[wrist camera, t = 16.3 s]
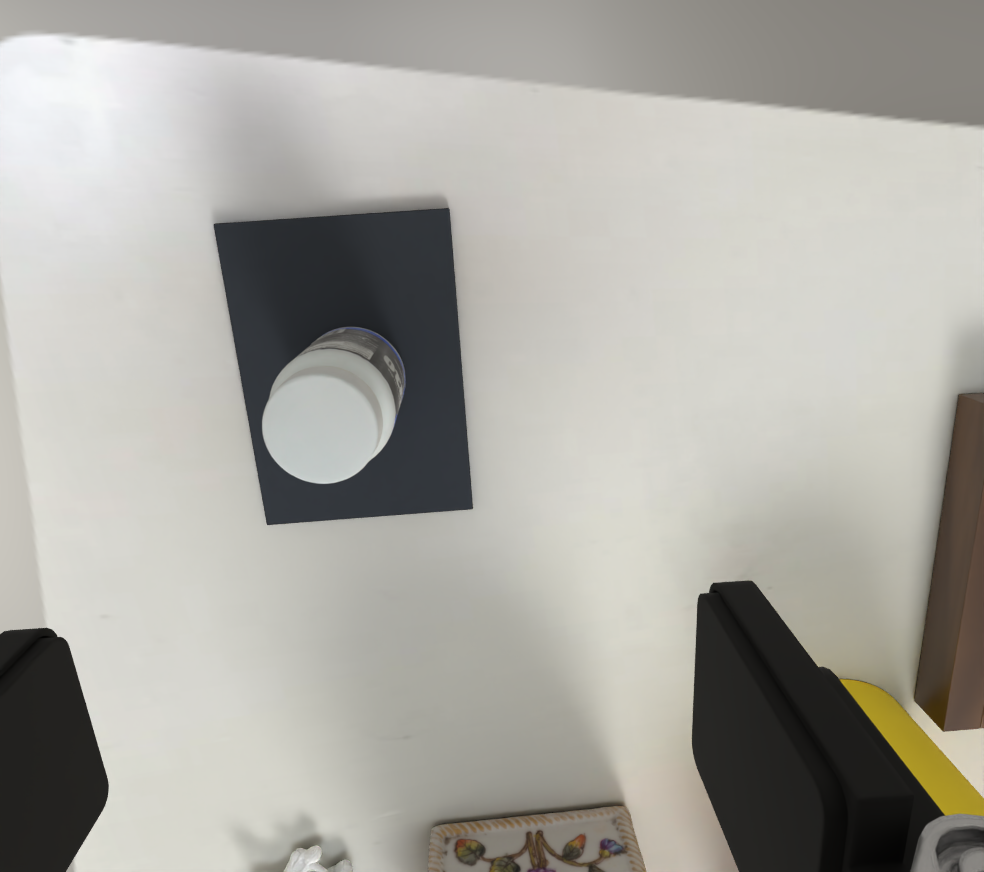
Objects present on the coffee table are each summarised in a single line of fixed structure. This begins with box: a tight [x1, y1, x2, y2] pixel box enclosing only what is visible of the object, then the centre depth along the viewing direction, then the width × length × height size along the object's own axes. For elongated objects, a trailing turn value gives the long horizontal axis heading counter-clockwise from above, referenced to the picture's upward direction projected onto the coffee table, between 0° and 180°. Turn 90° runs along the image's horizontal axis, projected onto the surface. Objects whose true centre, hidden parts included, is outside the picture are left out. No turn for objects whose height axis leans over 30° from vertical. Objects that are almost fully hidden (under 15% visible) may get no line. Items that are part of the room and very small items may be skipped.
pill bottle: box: [262, 327, 405, 484], centre depth 28 cm, size 5×5×8 cm
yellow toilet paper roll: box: [839, 679, 984, 816], centre depth 36 cm, size 10×10×9 cm
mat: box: [214, 208, 473, 525], centre depth 32 cm, size 14×10×1 cm
